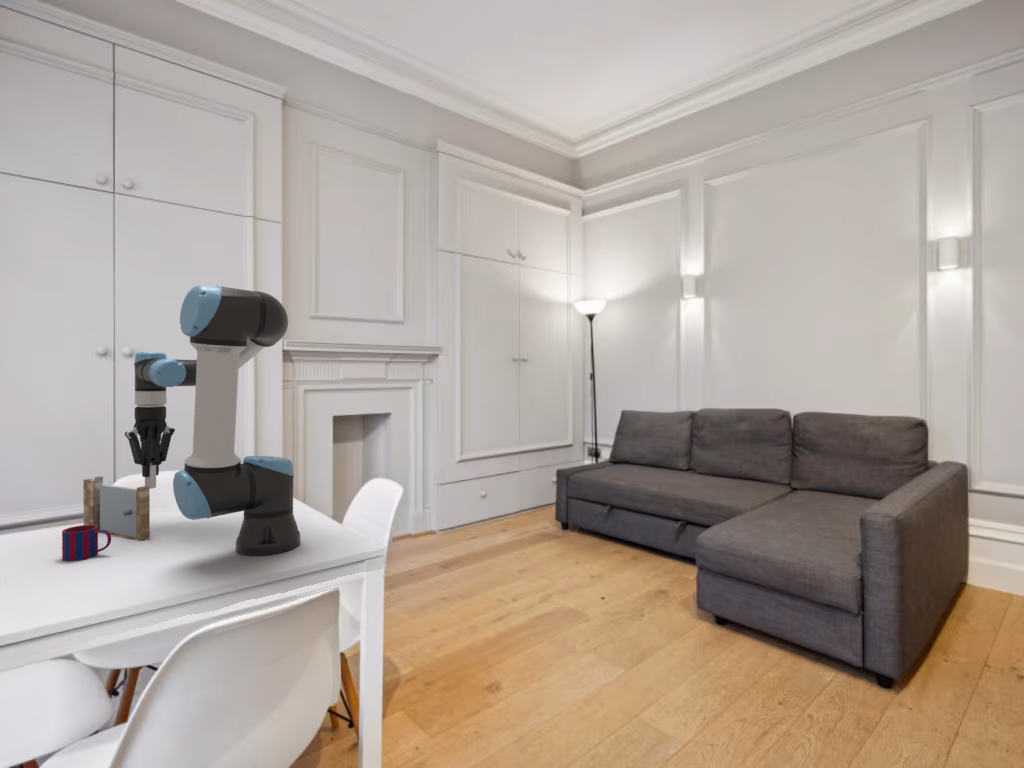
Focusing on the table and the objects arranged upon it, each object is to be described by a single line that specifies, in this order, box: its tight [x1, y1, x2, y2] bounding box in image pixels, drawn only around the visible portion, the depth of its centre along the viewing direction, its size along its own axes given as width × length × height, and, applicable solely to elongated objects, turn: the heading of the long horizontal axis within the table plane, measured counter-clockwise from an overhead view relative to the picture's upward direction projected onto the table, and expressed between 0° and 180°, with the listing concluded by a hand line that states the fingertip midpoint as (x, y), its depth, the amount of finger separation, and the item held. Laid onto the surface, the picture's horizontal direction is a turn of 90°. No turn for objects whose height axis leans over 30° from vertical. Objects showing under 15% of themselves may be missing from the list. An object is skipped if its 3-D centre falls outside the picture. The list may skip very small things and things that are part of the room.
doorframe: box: [82, 476, 151, 542], centre depth 147 cm, size 26×2×15 cm, turn 66°
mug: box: [61, 524, 112, 562], centre depth 128 cm, size 7×10×7 cm
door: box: [100, 483, 137, 538], centre depth 145 cm, size 16×3×13 cm, turn 66°
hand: (150, 487), depth 153 cm, fingers closed
